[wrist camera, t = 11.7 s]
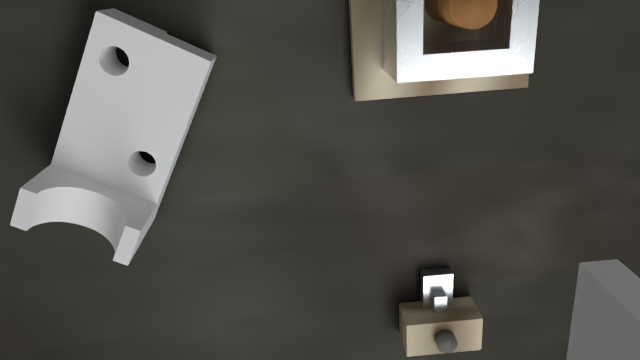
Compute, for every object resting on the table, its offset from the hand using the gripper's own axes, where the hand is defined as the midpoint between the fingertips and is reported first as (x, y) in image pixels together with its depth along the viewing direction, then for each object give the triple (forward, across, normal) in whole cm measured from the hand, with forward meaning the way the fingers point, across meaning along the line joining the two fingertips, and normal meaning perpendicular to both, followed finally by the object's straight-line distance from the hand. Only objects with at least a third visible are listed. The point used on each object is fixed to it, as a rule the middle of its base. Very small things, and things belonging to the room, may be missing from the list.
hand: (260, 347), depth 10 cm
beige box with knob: (+27, +11, -20) cm, 35 cm away
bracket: (+27, -10, -1) cm, 29 cm away
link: (+26, +11, +5) cm, 28 cm away
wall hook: (+27, +11, -17) cm, 34 cm away
